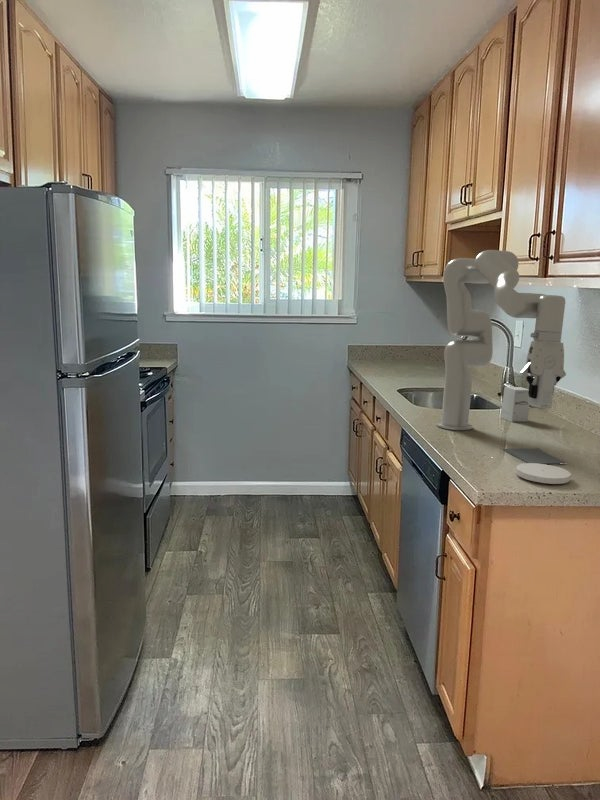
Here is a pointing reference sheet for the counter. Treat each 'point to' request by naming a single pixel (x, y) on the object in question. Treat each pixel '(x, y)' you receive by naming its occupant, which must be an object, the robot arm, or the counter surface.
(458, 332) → the robot arm
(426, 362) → the counter surface
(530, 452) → the mat
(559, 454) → the counter surface
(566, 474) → the plastic lid
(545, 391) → the skincare box
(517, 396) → the supplement box
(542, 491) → the counter surface
